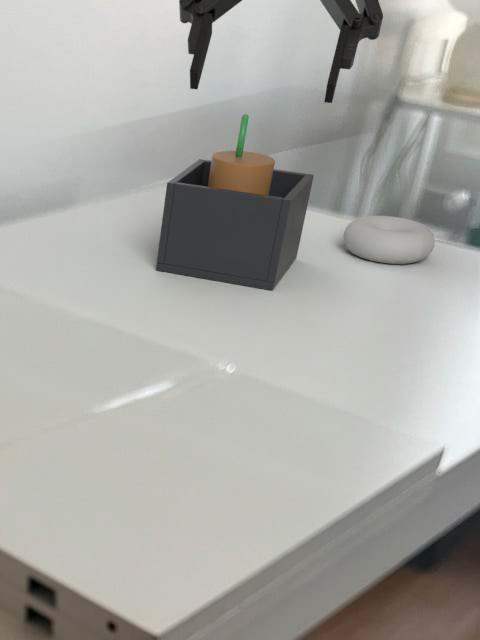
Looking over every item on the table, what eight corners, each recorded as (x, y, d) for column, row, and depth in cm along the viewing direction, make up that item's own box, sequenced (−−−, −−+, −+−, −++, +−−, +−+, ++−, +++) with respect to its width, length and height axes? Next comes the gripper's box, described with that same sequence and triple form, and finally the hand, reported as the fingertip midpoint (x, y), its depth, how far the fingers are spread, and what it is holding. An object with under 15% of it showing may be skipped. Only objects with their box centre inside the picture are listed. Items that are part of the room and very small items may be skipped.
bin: (296, 258, 115) (314, 174, 110) (272, 290, 106) (290, 200, 101) (187, 240, 119) (199, 158, 114) (155, 270, 110) (166, 182, 104)
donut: (364, 237, 124) (324, 252, 118) (372, 207, 122) (331, 220, 116) (444, 257, 118) (406, 273, 112) (453, 226, 116) (415, 240, 110)
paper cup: (267, 257, 112) (294, 116, 104) (238, 269, 108) (264, 124, 100) (216, 244, 116) (238, 106, 107) (186, 256, 112) (207, 113, 103)
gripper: (426, -61, 107) (382, 124, 104) (188, -76, 112) (141, 99, 110) (442, -125, 99) (395, 72, 97) (186, -138, 105) (136, 48, 103)
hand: (260, 87), depth 104 cm, fingers open, 13 cm apart
